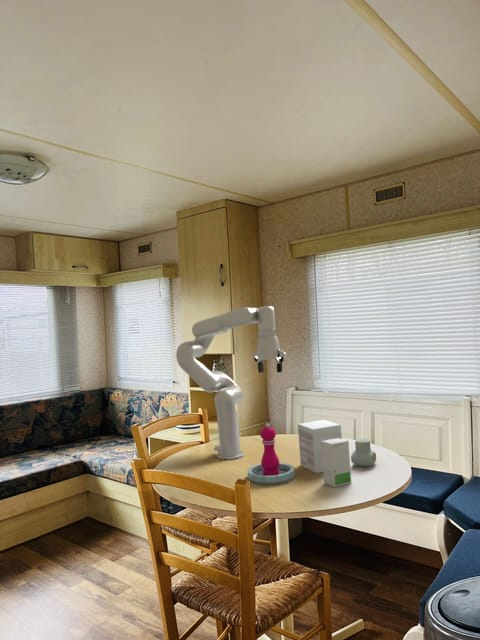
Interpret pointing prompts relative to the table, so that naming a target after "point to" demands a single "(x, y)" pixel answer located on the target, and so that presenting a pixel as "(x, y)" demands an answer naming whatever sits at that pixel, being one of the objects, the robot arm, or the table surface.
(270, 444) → the pepper mill
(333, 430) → the supplement box
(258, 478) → the round tray
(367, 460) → the air freshener
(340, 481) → the skincare box
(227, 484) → the table surface
